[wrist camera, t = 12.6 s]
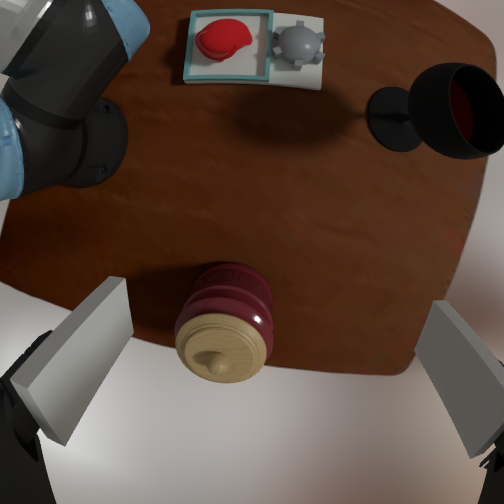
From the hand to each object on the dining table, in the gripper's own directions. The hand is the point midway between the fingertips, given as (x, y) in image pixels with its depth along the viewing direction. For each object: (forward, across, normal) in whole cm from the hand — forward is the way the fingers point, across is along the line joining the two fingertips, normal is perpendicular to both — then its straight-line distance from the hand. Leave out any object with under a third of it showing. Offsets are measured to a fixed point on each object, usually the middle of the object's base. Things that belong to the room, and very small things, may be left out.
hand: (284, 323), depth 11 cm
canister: (+32, -5, -17) cm, 36 cm away
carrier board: (+32, -4, +22) cm, 39 cm away
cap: (+31, -8, +22) cm, 39 cm away
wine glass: (+32, +18, +14) cm, 39 cm away
